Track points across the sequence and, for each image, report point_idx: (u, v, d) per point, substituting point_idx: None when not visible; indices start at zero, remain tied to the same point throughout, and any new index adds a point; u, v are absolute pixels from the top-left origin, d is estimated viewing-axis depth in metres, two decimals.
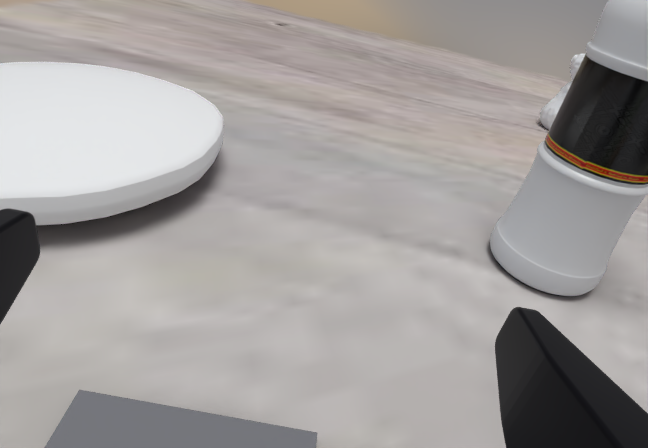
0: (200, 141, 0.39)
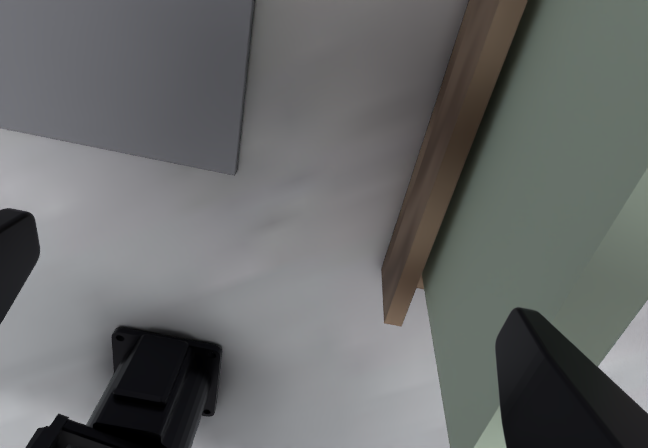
0: None
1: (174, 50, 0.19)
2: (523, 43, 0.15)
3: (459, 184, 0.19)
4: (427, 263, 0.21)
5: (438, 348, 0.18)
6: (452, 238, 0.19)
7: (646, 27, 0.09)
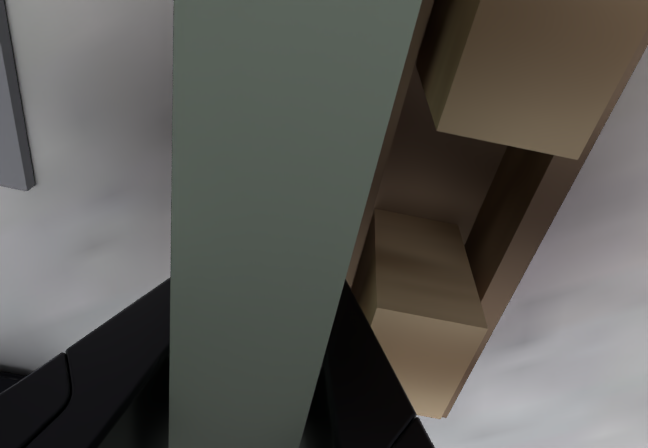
0: None
1: None
2: None
3: None
4: None
5: None
6: None
7: None
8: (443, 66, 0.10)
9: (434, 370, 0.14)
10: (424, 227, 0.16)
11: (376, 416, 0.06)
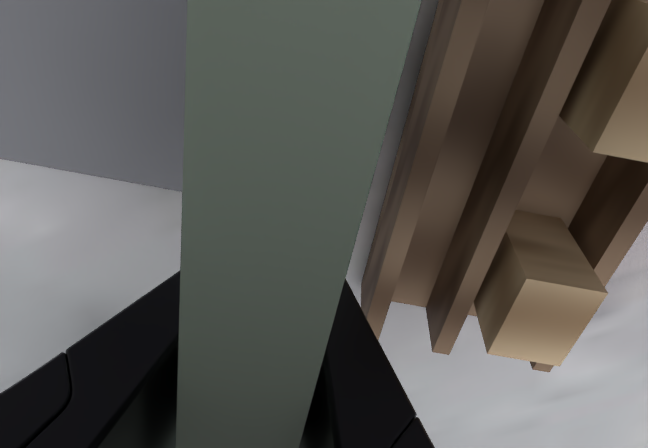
0: None
1: (147, 80, 0.20)
2: None
3: None
4: None
5: None
6: None
7: None
8: (591, 106, 0.15)
9: (562, 326, 0.18)
10: (537, 220, 0.21)
11: (376, 416, 0.06)
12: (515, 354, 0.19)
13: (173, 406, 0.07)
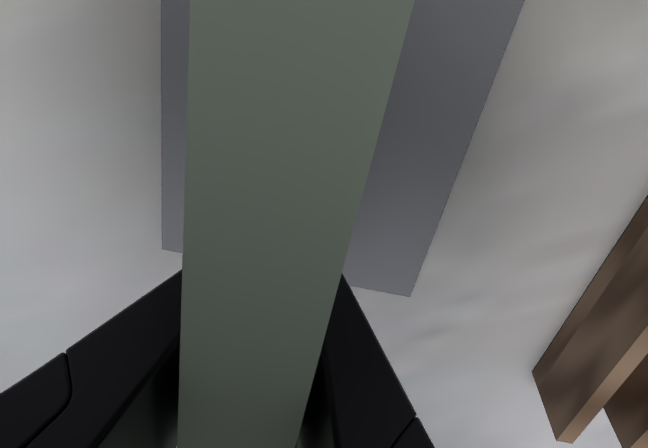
0: None
1: (376, 195, 0.20)
2: None
3: None
4: None
5: None
6: None
7: None
8: None
9: None
10: None
11: (376, 416, 0.06)
12: None
13: (173, 406, 0.07)
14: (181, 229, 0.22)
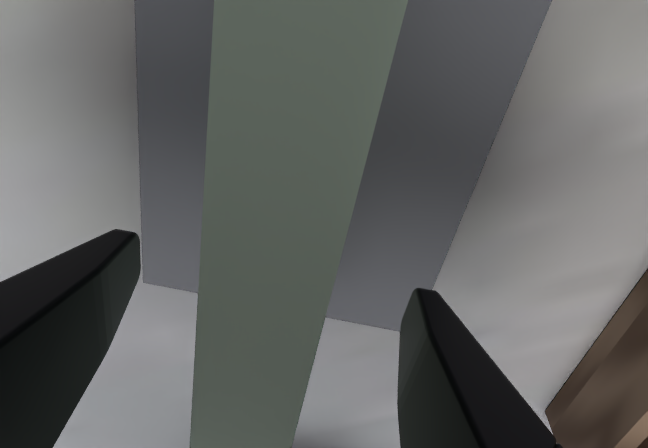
0: None
1: (377, 227, 0.18)
2: None
3: None
4: None
5: None
6: None
7: None
8: None
9: None
10: None
11: (522, 443, 0.06)
12: None
13: (49, 384, 0.07)
14: (164, 261, 0.20)
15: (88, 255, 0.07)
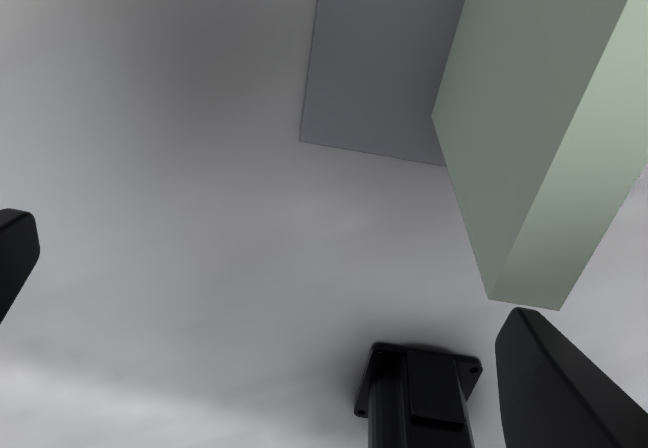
0: None
1: None
2: None
3: None
4: (442, 112, 0.18)
5: (460, 181, 0.14)
6: (473, 55, 0.15)
7: None
8: None
9: None
10: None
11: None
12: None
13: None
14: (324, 114, 0.20)
15: None
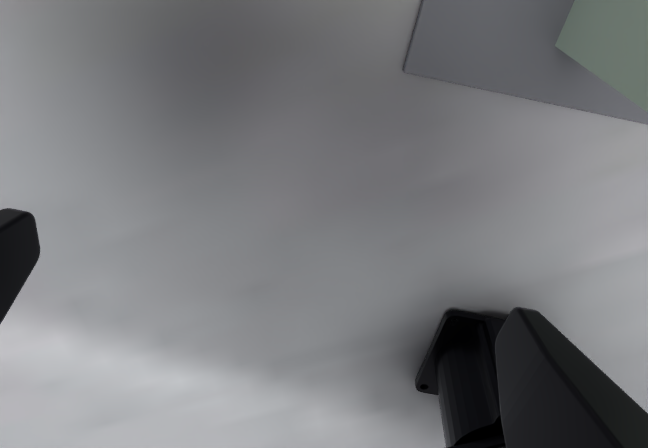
0: None
1: None
2: None
3: None
4: (581, 34, 0.16)
5: (642, 86, 0.12)
6: None
7: None
8: None
9: None
10: None
11: None
12: None
13: None
14: (437, 41, 0.18)
15: None
